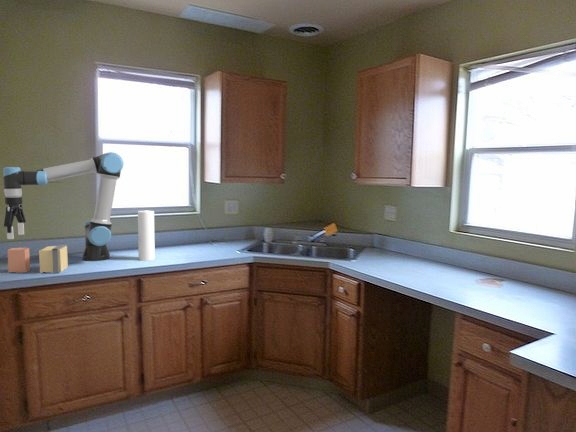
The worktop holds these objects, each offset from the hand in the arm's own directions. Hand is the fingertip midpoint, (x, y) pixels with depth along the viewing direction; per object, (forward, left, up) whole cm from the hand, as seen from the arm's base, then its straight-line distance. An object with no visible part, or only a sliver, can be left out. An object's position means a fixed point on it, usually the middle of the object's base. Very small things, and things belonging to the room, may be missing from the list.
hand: (16, 236), depth 218 cm
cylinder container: (-63, -20, -18) cm, 69 cm away
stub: (-2, +2, -18) cm, 18 cm away
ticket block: (-18, +2, -18) cm, 26 cm away
